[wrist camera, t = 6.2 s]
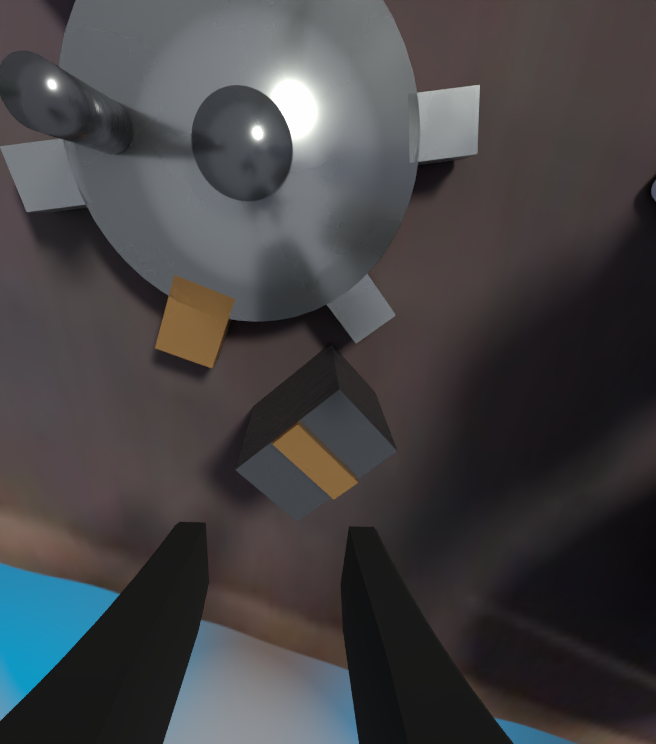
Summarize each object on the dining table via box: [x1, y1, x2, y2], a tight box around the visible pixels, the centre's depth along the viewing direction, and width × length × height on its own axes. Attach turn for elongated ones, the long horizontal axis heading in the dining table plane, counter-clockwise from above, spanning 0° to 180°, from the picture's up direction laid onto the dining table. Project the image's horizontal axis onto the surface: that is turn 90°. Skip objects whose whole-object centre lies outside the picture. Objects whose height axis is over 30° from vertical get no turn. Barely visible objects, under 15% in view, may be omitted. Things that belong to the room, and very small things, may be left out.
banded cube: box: [235, 343, 397, 521], centre depth 16 cm, size 3×5×5 cm
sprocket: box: [0, 0, 480, 368], centre depth 11 cm, size 16×16×5 cm
